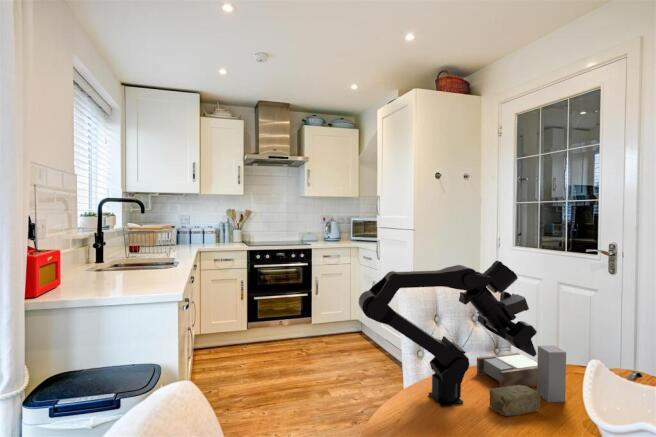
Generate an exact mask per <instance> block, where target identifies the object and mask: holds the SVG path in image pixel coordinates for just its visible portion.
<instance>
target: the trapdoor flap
mask: <svg viewBox="0 0 656 437" xmlns="http://www.w3.org/2000/svg"><path fill="white" fill-rule="evenodd" d="M519 354H520V355H512V356H503V357H496V358H493V359H484V372H485V373H487V374H486V375H489V376H490V377H491V378H493V379H495V380H496V381H498V382H500V371H505V370H512V369H520V368H528V367H535V366H537V362H538V361H535V360H533V359H531V358H529V357H528V356H525V355H523V354H521V353H519Z"/></svg>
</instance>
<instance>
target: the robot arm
mask: <svg viewBox="0 0 656 437" xmlns="http://www.w3.org/2000/svg"><path fill="white" fill-rule="evenodd" d="M517 280H518V275H517V274H516V273H515V271H514V270H511V269H510V268H509V267H508V266H506V264H503V262H502V261H499V260H495V261H494V262H493V263H492V264H491V266H490V267H488V268H487V269H486V270H485V271H484V272H483V273H482V272H479V271H476V270H475V269H474V268H471V267H468V266H465V265H461V264H456V265H450V266H447V267H444V268H442V269H439V270H420V271H418V270H415V271H394V270H391V271H388V272H387V273H386V274H385V275H384V277H382V278H380V280H379V281H378V282H376V283H374V285H372V286H371V288H370V289H368V290H366V291H363V292H362V293H361V294H360V296H359V298H358V306H359V307H360V309H361V311H362V312H363V314H364V316H366V317H367V318H368V319H370V320H373V321H375V322H377V323H380V324H384V325H388V326H389V327H391V328H393V329H394V330H395V331H397V332H398V333H400V334H401V335H402V336H404V337H406V338H407V339H408V340H411V342H413V343H414V344H416V345H418V346H419V347H421V348H422V349H424V350H425V351H426V352H428V353H430V354H431V355H433V356H434V357H433V358H432V359H431V360H430V361H429V366H430V368H431V370H432V371H433V372H434V373H433V374H431V375H432V376H431V380H432V381H431V392H428V396H429V397H430V398H431V399H433V400H434V401H435V403H436V404H438V405H439V406H440V407H443V408H445V407H450V406H456V405H463V404H464V401H463V399H461V397H462V396H461V395H462V390H461V389H462V382H463V380H464V378H465V374H466V372H468V370H469V368H470V359H469V358H468V356H467V355H466V353H467V352H466V351H465V350H463V348H462V347H460V346H459V345H458V344H457V343H456V342H453V341H451V340H449V339H448V337H446V336H445V335H443V336H442V338H441V339H439V338H435V337H434V336H432V335H431V334H430V333H428V332H427V331H425V330H424V329H422V328H421V327H419V326H418V325H416V324H415V323H414V322H412V321H411V320H409V319H407V318H406V317H405V316H403V315H402V314H400V313H399V312H397V311H395V310H394V309H393V308H392V307H391V306H390V305H389V304H390V303H391V302H392V300H393V298H394V297H395V296H396V294H397V292H398V291H399V290H400V289H408V288H409V289H410V288H412V289H413V288H414V289H415V288H435V287H436V288H437V287H438V288H439V287H440V288H441V287H442V288H443V287H444V288H450V289H454V290H460V292H459V297H458V301H459V302H460V303H461V304H464V305H468V304H469V303H470V304H471V305H472V306H473V308H475V310H476V311H477V312H476V313H477V314H478V315H477V320H476V321H477V322H478V323H479V324H480V325H481V326H482V327H483V328H484V329H486V330H487V331H489V332H491V333H492V334H495V335H496V336H499V337H500V338H502V339H504V340H506V341H507V342H508V343H509V344H510V345H511V346H513V347H514V348H515V349H518V350H520V351H522V352H524V353H525V354H527V355H529V356H531V357H536V356H537V355H538V352H537V351H536V347H535V346H534V344H533V340H532V338H533V337H535V336H536V334H537V332H538V331H537V330H536V328H534V326H533V325H532V324H530V323H528V322H526V321H522V320H518V321H517V322H516V323H515V321H514V320H516V318H517V314H520V313H523V312H525V311H529V309H530V307H529V305H528V302H527V300H526V297H525V296H523V295H521V294H517V293H516V294H514V293H512V294H511V293H509V292H508V291H506V290H507V289H508V288H509V287H510V286H512V285H513V284H514V283H515V282H516V281H517ZM463 291H464V292H463ZM497 293H499V294H500V295H499V296H500V297H499V300H498V299H497V298H496V296H494V295H495V294H497ZM513 321H514V322H513Z"/></svg>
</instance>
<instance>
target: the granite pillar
mask: <svg viewBox="0 0 656 437" xmlns="http://www.w3.org/2000/svg"><path fill="white" fill-rule="evenodd" d="M536 362H537V386H536V391H537V392H538V393H539V394H540V398H542V399H543V400H545V401H547V403H560V402H561V403H565V402H566V387H567V386H566V381H567V380H566V378H567V376H566V375H567V351H565V350H563V349H561V348H559V347H557V346H556V345H537V361H536Z"/></svg>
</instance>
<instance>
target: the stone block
mask: <svg viewBox="0 0 656 437" xmlns="http://www.w3.org/2000/svg"><path fill="white" fill-rule="evenodd" d="M540 406H541V396H540V394H539V393H538V392H537V390H535V389H533V388H531V387H528V386H522V385H516V386H507V387H501V388H500V387H493V388H490V389H489V407H490V408H491V410H493V411H494V412H495V413H499V414H500V415H501V416H505V417H510V416H512V417H513V416H514V417H515V416H517V415H518V416H519V415H525V414H530V413H531V414H532V413H535V412H538V411H539V410H540Z"/></svg>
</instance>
